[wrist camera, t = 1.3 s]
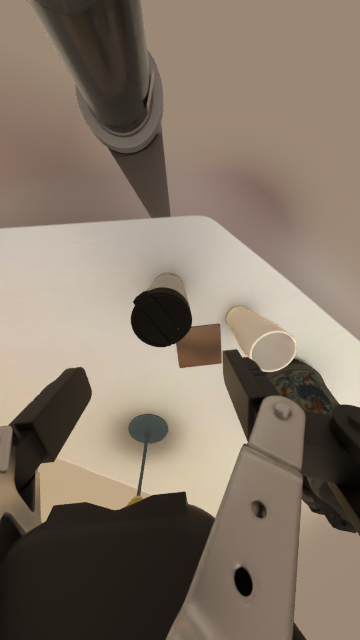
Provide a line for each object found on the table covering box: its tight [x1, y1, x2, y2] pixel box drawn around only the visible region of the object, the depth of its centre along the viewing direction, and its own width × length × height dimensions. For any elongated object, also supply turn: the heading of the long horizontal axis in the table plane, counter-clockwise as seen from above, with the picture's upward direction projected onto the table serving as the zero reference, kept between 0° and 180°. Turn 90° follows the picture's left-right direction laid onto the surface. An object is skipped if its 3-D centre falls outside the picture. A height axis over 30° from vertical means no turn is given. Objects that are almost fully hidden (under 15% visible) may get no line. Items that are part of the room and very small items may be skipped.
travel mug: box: [131, 273, 192, 347], centre depth 27 cm, size 6×7×20 cm
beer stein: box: [263, 358, 357, 533], centre depth 34 cm, size 16×19×25 cm
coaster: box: [176, 324, 222, 368], centre depth 41 cm, size 10×10×1 cm
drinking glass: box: [226, 306, 297, 372], centre depth 32 cm, size 7×7×15 cm
